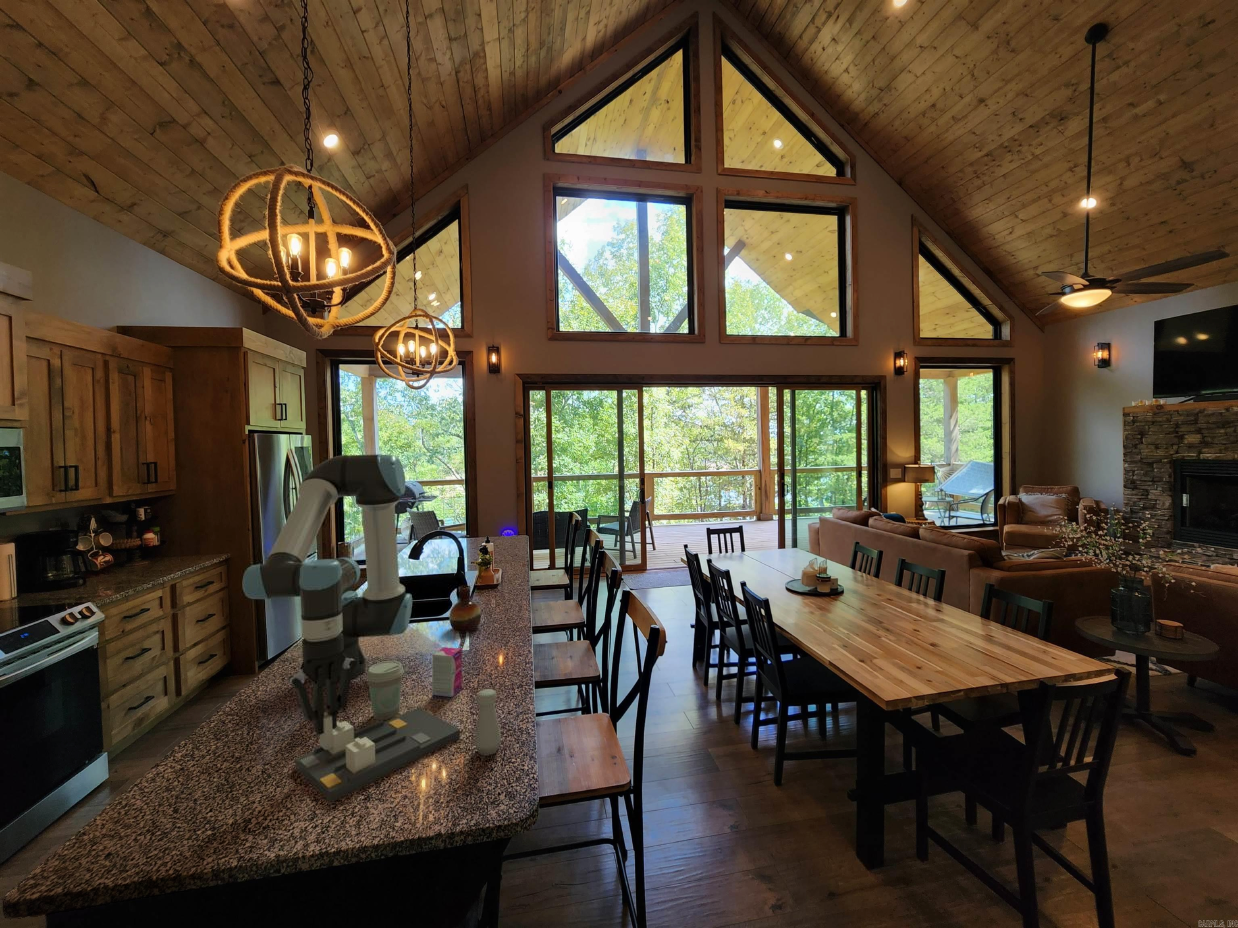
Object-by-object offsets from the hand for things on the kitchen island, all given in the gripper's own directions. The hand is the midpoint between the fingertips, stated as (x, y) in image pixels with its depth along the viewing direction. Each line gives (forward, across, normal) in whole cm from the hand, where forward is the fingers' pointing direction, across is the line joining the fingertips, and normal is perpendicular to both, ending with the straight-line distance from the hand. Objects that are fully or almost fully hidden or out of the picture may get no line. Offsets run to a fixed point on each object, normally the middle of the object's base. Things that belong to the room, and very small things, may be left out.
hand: (326, 745), depth 112 cm
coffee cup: (+4, +18, +10) cm, 21 cm away
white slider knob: (+2, +3, 0) cm, 3 cm away
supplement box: (+4, +34, +9) cm, 35 cm away
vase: (+4, +67, +49) cm, 83 cm away
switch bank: (+4, +9, -5) cm, 11 cm away
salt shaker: (+4, +24, -22) cm, 33 cm away
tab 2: (+2, +3, -10) cm, 11 cm away
